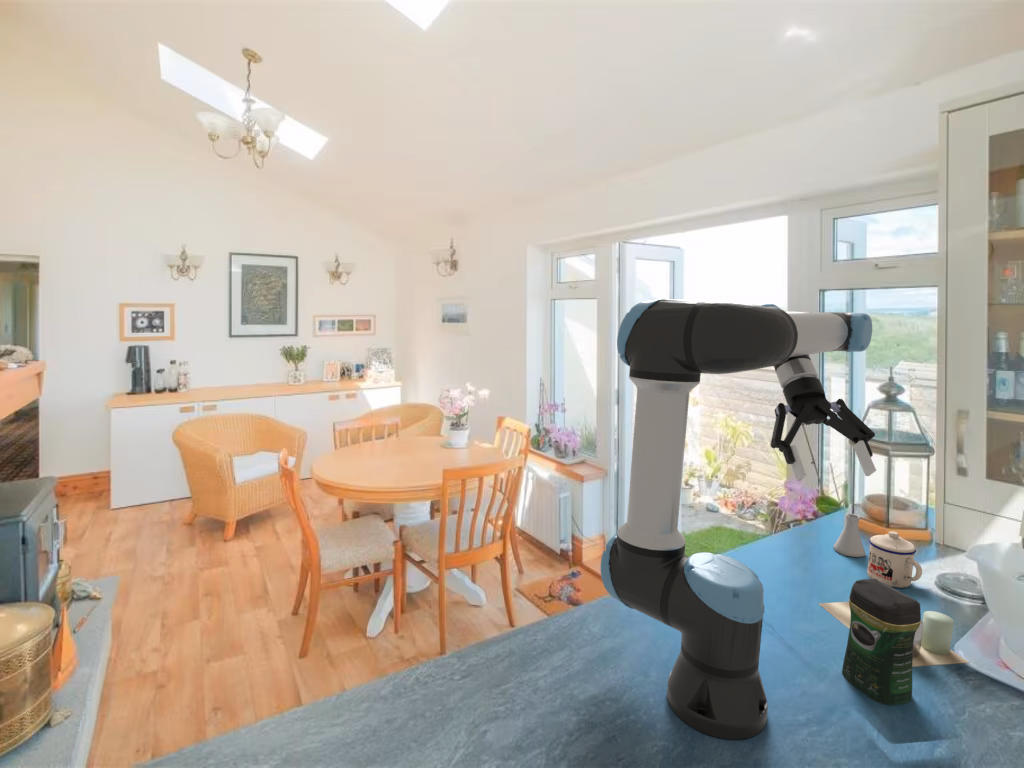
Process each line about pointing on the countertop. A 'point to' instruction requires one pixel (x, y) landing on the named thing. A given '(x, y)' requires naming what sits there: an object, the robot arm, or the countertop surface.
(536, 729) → the countertop surface
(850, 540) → the flask
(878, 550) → the teacup with lid
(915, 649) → the shiny silver cylinder
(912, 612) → the coffee jar
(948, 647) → the sage tin
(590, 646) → the countertop surface
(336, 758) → the countertop surface
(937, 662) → the birch board
